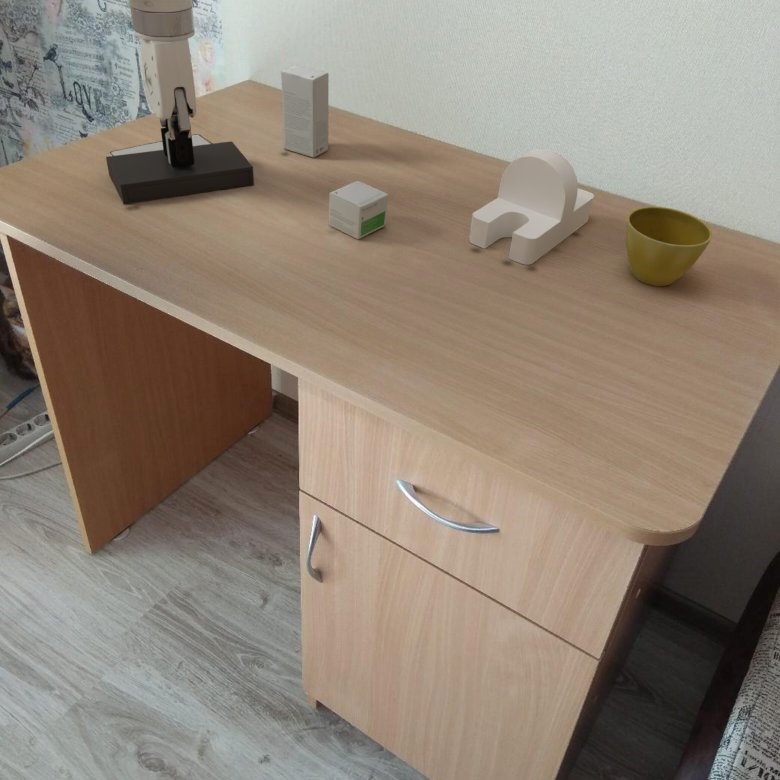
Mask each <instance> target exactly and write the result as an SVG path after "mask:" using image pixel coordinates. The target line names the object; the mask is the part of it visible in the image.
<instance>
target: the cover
mask: <svg viewBox="0 0 780 780" xmlns="http://www.w3.org/2000/svg"><path fill="white" fill-rule="evenodd" d="M165 136H166V144H167V152H168V157H166V156H165V155H164V151H163V150H157V151H149V152H141V153H133V154H125V155H117V156H110V155H108V156H105V160H106V166H107V171H108V176H109V178H110V180H111V182H112V184H113V186H114V188H115V191H116V192H117V194H118V196H119V198H120V200H121V203H122V204H123V205H128V204H133V203H141V202H148V201H154V200H160V199H161V200H162V199H167V198H168V199H169V198H174V197H181V196H188V195H189V196H190V195H195V194H201V193H202V194H203V193H209V192H215V191H222V190H223V191H224V190H229V189H237V188H243V187H249V186H250V187H251V186H254V185H255V180H254V179H255V177H254V166H253V165H252V163H250V161H249V159H247V158H246V157H245V156H246V155H244V154H243V153H242V152H241V151H240V149H239V148H238V147H237V145H236V144H235V143H234V142H233V141H232V140H231V141H224V142H222V141H221V142H215V143H212V144H206V145H198V146H193V154H194V164H193V165H190V166H183V167H175V168H174V167H172V166H171V163H170V155H169V147H168V138H170V135H169V131H168V132H167V133H166V134H165Z"/></svg>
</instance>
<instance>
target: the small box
mask: <svg viewBox="0 0 780 780" xmlns="http://www.w3.org/2000/svg"><path fill="white" fill-rule="evenodd" d="M328 195H329V197H328V198H329V199H328V225H329V226H330V227H332V228H334V229H336V230H338V231H339V232H342V233H344V234H346V235H348V236H350V237H352V238H354V239H356V240H360V239H362V238H364V237H366V236H368V235H370V234H371V233H374V232H376V231H378V230H379V229H382V228H385V227H386V223H387V212H388V211H387V209H388V197H389V194H388V193H386V192H384V191H382V190H380V189H378V188H375V187H373V186H370V185H369V184H367V183H364V182H362V181H360V180H356V181H354V182H351V183H349V184H347V185H345V186H342V187H340V188H337V189H335V190H332V191H331V192H329V193H328Z"/></svg>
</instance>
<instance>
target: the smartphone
mask: <svg viewBox="0 0 780 780" xmlns="http://www.w3.org/2000/svg"><path fill="white" fill-rule="evenodd" d="M191 135H192V144H193V146H198V145H206V144H213V143H212V142H211V141H210V140H208V139H207V138H206V137H204V136H202V135H201V134H197V133H196V134H194V133H193V134H191ZM157 150H163V143H162V140H159V141H155V142H150V143H144V144H140V145H134V146H130V147H125V148H119V149H115V150H112V151H110V152H109V155H108V156H117V155H125V154H133V153H141V152H149V151H157Z"/></svg>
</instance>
